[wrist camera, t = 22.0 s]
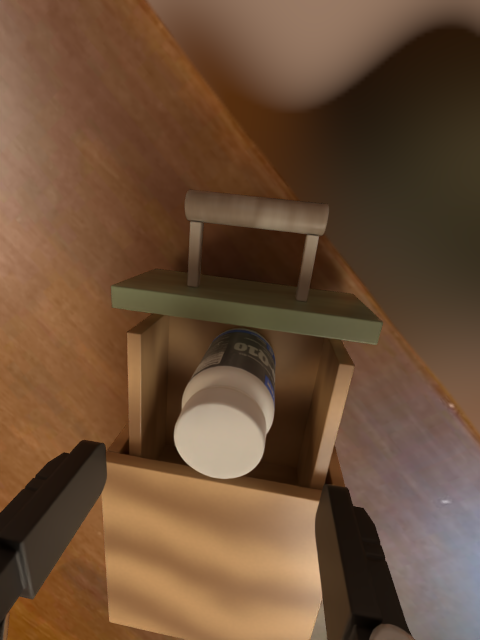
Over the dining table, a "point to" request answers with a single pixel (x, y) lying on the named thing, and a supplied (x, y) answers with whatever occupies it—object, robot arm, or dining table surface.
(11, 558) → the robot arm
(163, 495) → the cabinet
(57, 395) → the dining table surface
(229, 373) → the pill bottle
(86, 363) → the dining table surface
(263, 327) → the drawer
